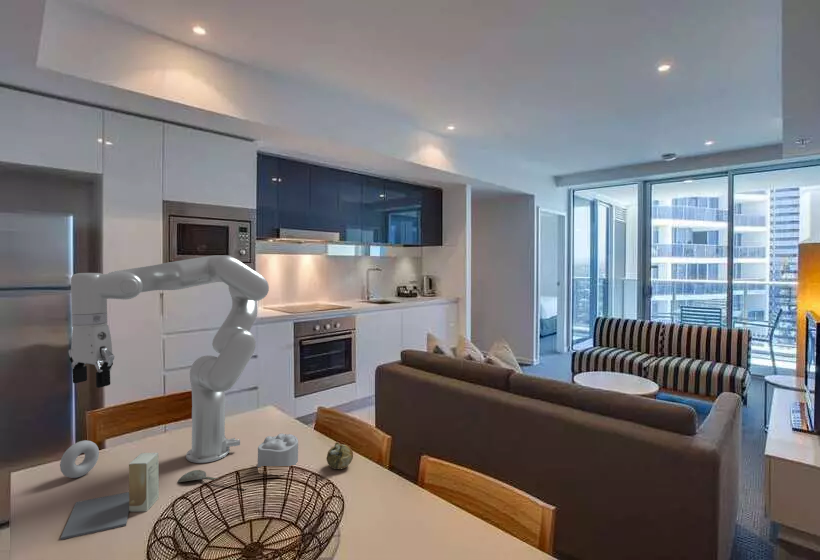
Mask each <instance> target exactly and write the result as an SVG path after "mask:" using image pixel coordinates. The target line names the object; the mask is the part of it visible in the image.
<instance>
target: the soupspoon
mask: <svg viewBox="0 0 820 560" xmlns="http://www.w3.org/2000/svg"><path fill="white" fill-rule="evenodd" d="M214 479H218V478H217V477H210V476H207V472H206V471H205V470H201V469H195V470H191V471H188V472H186V473H185V474H183V475H181V477H180V478H179V479H178V480H177V483H182V482H188V481H195V480H209V481H215V480H214Z"/></svg>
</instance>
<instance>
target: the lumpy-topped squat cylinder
mask: <svg viewBox="0 0 820 560" xmlns="http://www.w3.org/2000/svg"><path fill="white" fill-rule="evenodd" d="M297 462H298V463H299V440H298V437H297V436H296V435H293V434H290V433H289V434H287V433H283V432H282V433H279V434H277V435H275V436H271V435H268V436H266V437H265V438H264V441H263V442H261V443H260V444H259V445H258V447H257V468H258V467H261V466H291V465H296V463H297Z"/></svg>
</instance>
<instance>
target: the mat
mask: <svg viewBox="0 0 820 560" xmlns="http://www.w3.org/2000/svg"><path fill="white" fill-rule="evenodd" d="M129 513H130V512H129V491H127V492H123V493H117V494H112V495H105V496H99V497H95V498H90V499H85V500H80V501H75V503H74V506H73V509H72V511H71V513H70V515H69V517H68V520H67V523H66V525H65V527H64V529H63V531H62V533H61V536H60V541H63V540H65V539H67V540H68V539H72V538H75V537H79V536H80V537H81V536H84V535H85V536H86V535H90V534H93V533H99V532H102V531H103V532H104V531H108V530H114V529H117V528H121V527H126V526H127V524H128V523H127V522H128V518H129Z"/></svg>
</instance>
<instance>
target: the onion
mask: <svg viewBox="0 0 820 560" xmlns="http://www.w3.org/2000/svg"><path fill="white" fill-rule="evenodd" d="M353 459H354V453H353V450H352V448H351V447H350V446H349V445H346V444H342V443H339V441H336V442H335V443H334V446H332V447H330V449H329V450H328V452H327V454H326V461H327V464H328V466H329V467H330V468H332V469H333V468H339V469H338V470H342V469H341V468H343V469H345V467H346V468H347V467H348V466H349V465H351V462H352V461H353Z"/></svg>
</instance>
